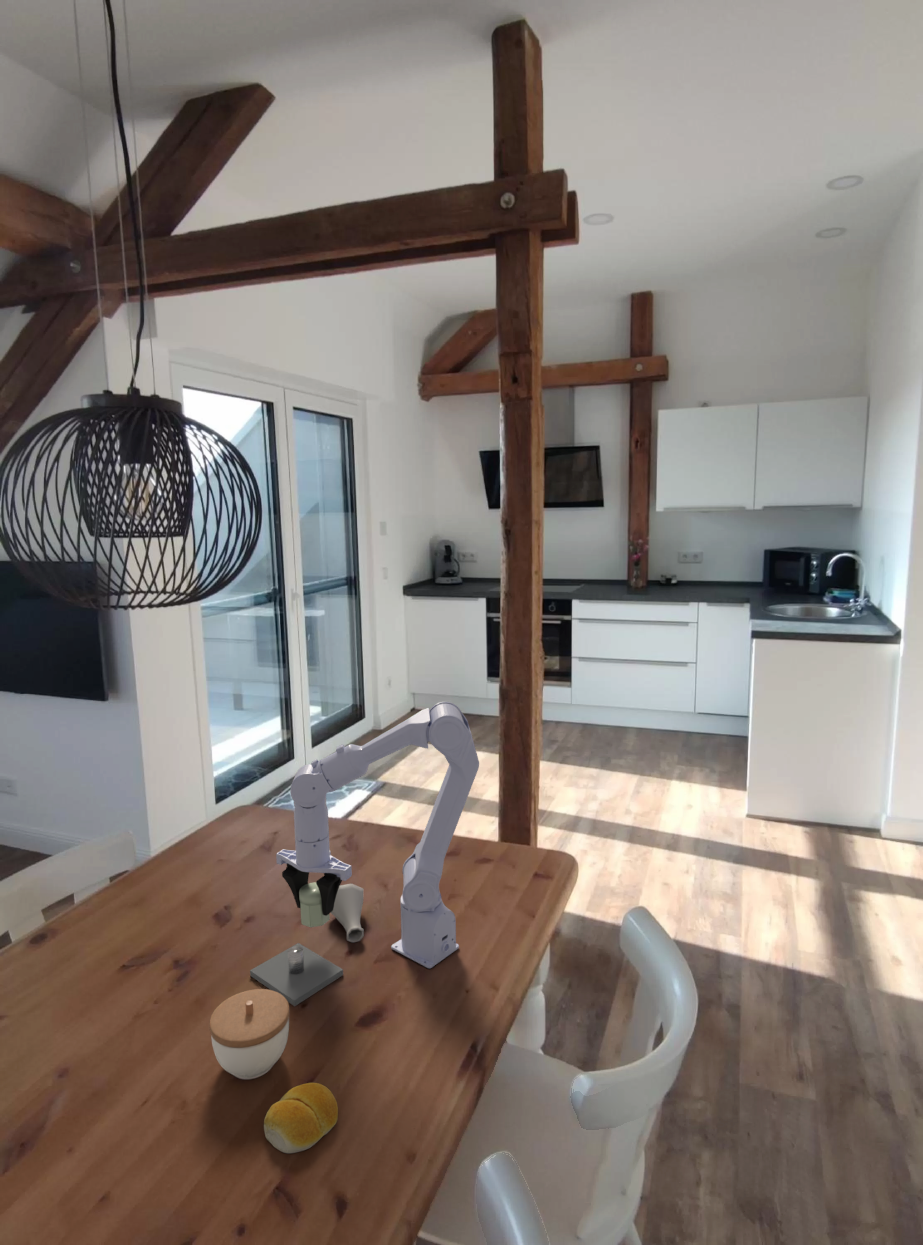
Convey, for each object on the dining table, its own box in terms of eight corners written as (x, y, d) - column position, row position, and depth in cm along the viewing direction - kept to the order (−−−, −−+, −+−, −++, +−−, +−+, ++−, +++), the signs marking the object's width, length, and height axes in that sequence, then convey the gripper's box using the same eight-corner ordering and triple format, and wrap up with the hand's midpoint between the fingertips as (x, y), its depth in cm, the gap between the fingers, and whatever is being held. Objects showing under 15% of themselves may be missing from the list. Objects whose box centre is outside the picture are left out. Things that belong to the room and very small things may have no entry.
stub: (307, 969, 121) (306, 950, 121) (295, 976, 119) (294, 957, 119) (297, 963, 123) (296, 944, 122) (285, 970, 121) (284, 951, 120)
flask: (369, 884, 139) (380, 920, 130) (357, 915, 141) (367, 953, 132) (333, 880, 136) (342, 917, 127) (321, 912, 138) (330, 950, 129)
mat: (343, 974, 121) (343, 969, 121) (294, 1006, 114) (294, 1000, 113) (298, 948, 129) (298, 942, 129) (250, 975, 121) (250, 970, 121)
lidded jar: (307, 1052, 104) (304, 993, 103) (251, 1105, 95) (247, 1041, 93) (254, 1026, 109) (250, 969, 108) (196, 1073, 100) (191, 1012, 99)
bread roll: (350, 1116, 93) (349, 1088, 93) (297, 1167, 86) (295, 1137, 85) (306, 1087, 98) (305, 1060, 97) (252, 1133, 91) (250, 1105, 90)
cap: (335, 915, 127) (334, 886, 126) (316, 930, 123) (315, 900, 122) (313, 908, 129) (312, 879, 128) (294, 922, 125) (292, 892, 124)
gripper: (360, 833, 124) (363, 906, 126) (292, 819, 130) (296, 889, 132) (336, 851, 118) (339, 927, 120) (266, 834, 124) (270, 908, 126)
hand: (315, 908), depth 126 cm, fingers closed on cap, 5 cm apart
